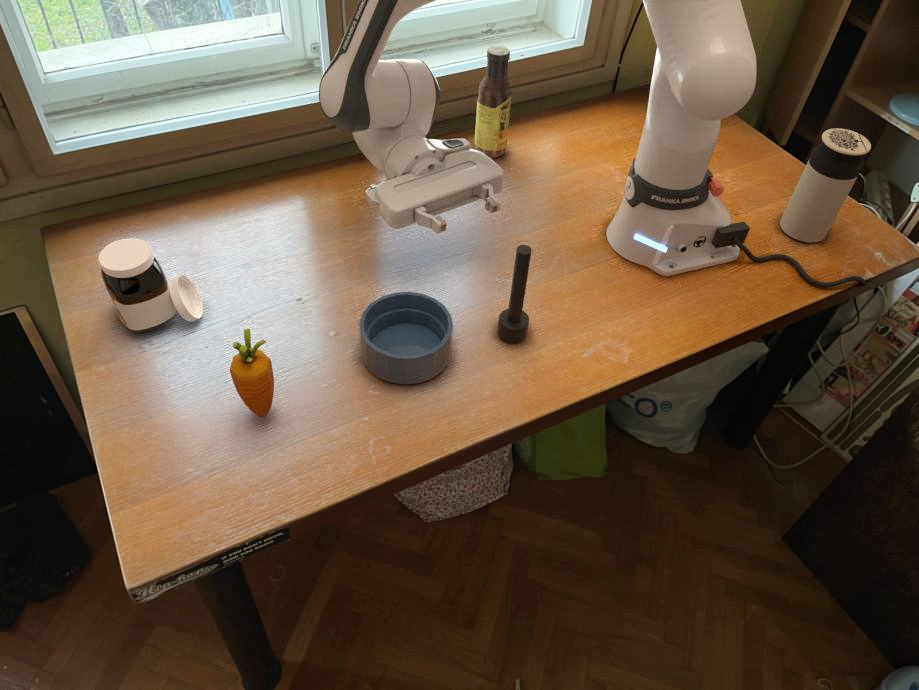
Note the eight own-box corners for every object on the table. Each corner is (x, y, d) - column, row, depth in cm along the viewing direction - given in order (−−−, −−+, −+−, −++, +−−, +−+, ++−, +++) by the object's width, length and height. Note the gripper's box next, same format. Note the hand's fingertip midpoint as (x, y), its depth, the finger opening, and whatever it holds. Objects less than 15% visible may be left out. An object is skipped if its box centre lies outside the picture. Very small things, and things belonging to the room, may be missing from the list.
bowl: (444, 317, 109) (445, 288, 105) (457, 382, 100) (459, 353, 96) (359, 324, 107) (356, 295, 103) (365, 391, 99) (363, 362, 94)
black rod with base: (523, 321, 109) (536, 237, 97) (529, 342, 106) (544, 259, 94) (494, 324, 109) (504, 239, 97) (500, 345, 106) (511, 261, 94)
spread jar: (110, 305, 107) (83, 244, 99) (183, 276, 112) (164, 216, 104) (140, 354, 101) (114, 293, 93) (216, 321, 106) (198, 261, 98)
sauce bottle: (502, 162, 138) (513, 62, 124) (470, 157, 139) (477, 57, 124) (508, 144, 143) (518, 45, 128) (477, 139, 143) (484, 40, 129)
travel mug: (779, 238, 126) (822, 148, 113) (778, 212, 131) (819, 123, 118) (826, 248, 125) (875, 158, 112) (823, 221, 130) (870, 132, 117)
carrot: (257, 396, 97) (237, 318, 86) (289, 408, 96) (273, 330, 85) (236, 423, 94) (212, 345, 83) (268, 436, 93) (249, 359, 82)
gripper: (358, 172, 105) (408, 223, 98) (473, 135, 113) (527, 179, 106) (360, 207, 110) (408, 258, 102) (470, 169, 118) (522, 214, 111)
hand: (469, 218), depth 104 cm, fingers open, 8 cm apart
